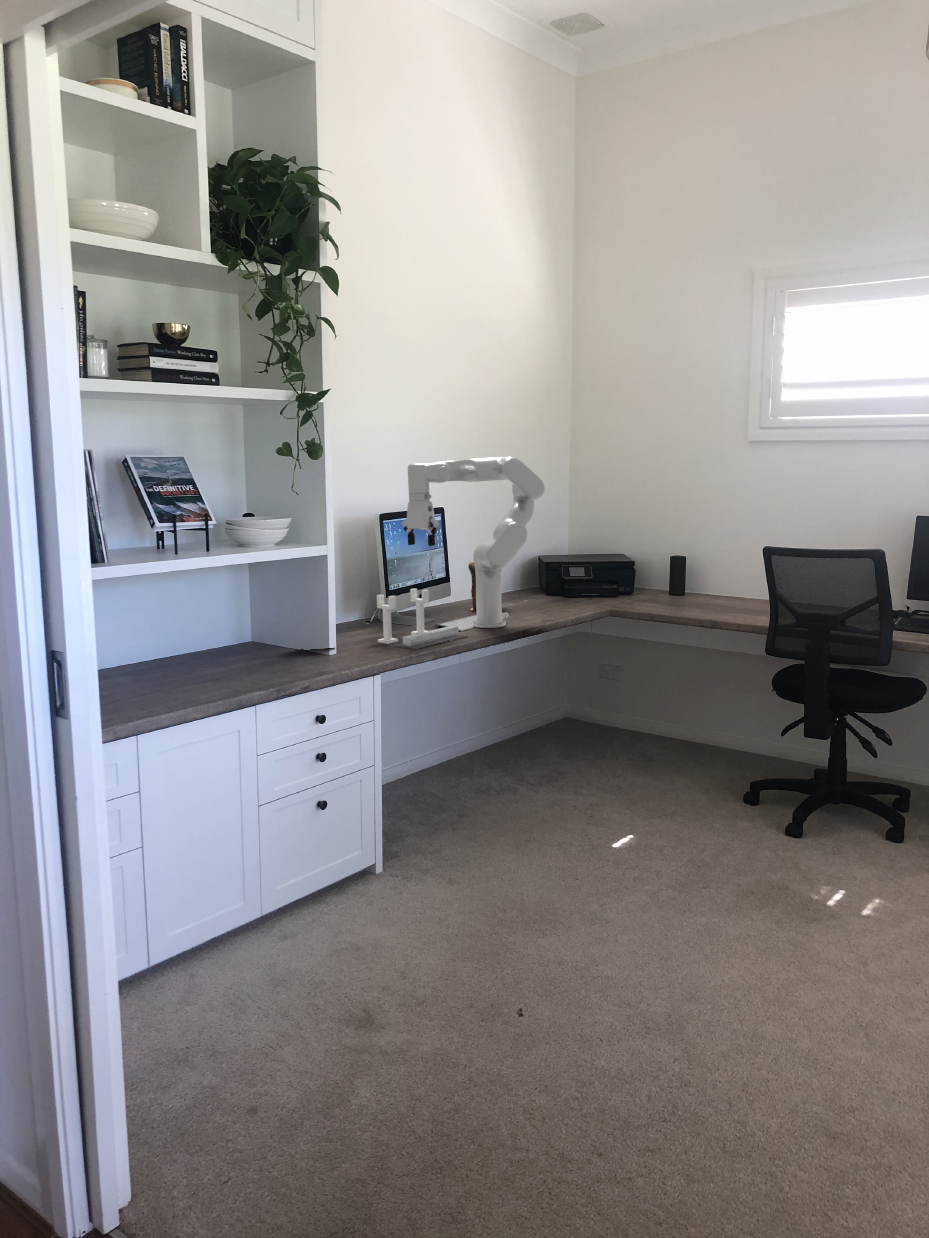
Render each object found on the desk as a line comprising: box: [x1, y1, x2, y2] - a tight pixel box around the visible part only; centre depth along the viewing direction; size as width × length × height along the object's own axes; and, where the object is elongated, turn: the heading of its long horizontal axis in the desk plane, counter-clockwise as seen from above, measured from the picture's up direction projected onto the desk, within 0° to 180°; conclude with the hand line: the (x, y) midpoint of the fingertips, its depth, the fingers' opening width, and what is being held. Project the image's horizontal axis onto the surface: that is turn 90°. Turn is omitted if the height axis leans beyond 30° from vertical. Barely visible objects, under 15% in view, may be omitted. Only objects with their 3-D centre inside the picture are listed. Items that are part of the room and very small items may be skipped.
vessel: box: [467, 561, 502, 613], centre depth 398 cm, size 14×14×20 cm
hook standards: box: [376, 588, 430, 645], centre depth 339 cm, size 22×7×16 cm, turn 140°
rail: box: [402, 625, 460, 647], centre depth 332 cm, size 25×4×3 cm, turn 140°
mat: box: [393, 634, 468, 650], centre depth 332 cm, size 27×10×1 cm, turn 140°
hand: (421, 545), depth 346 cm, fingers open, 9 cm apart
